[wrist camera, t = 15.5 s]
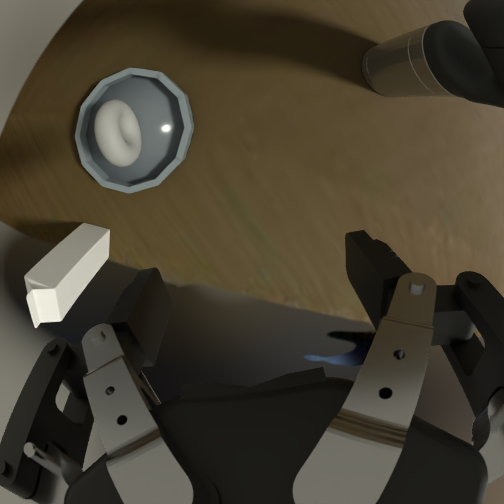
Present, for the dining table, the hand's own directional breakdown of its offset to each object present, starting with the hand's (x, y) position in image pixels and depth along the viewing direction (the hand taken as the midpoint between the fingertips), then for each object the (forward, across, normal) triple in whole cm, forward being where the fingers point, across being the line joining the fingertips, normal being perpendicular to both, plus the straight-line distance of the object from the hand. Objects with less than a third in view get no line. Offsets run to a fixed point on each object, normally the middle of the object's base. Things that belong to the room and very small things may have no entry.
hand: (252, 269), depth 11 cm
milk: (+32, +30, +8) cm, 45 cm away
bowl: (+32, +16, -9) cm, 37 cm away
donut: (+31, +16, -9) cm, 36 cm away
